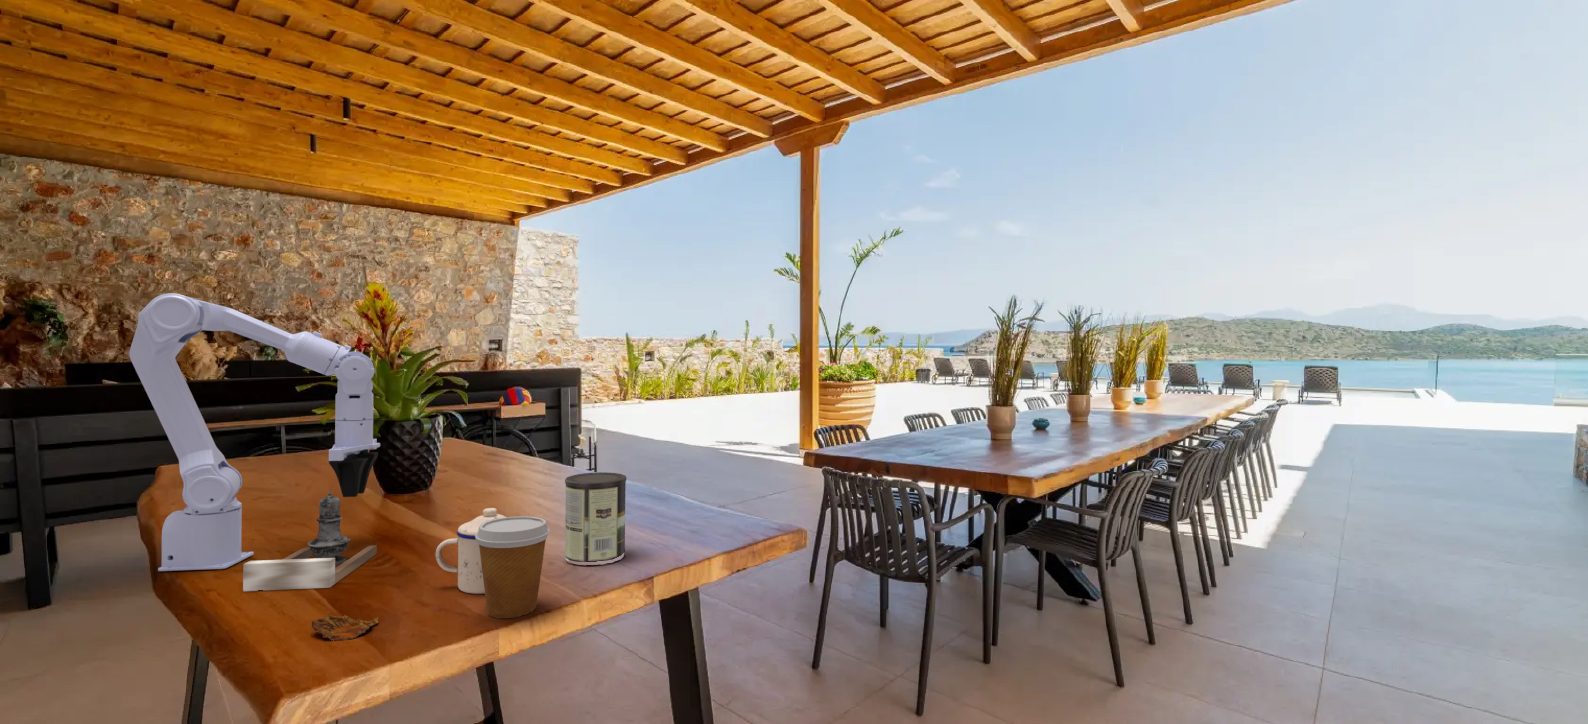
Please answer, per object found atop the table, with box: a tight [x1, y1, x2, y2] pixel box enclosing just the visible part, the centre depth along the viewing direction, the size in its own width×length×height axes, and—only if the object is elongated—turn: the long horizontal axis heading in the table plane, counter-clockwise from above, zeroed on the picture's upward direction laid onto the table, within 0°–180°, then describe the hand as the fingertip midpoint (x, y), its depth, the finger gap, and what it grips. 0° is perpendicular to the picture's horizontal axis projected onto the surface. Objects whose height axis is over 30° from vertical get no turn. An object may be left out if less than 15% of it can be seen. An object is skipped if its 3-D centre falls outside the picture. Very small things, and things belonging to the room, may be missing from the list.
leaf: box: [311, 614, 380, 641], centre depth 86 cm, size 6×7×2 cm
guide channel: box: [242, 544, 378, 592], centre depth 108 cm, size 11×17×4 cm
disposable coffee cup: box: [475, 515, 550, 619], centre depth 94 cm, size 10×10×12 cm
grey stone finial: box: [307, 490, 351, 567], centre depth 113 cm, size 6×6×12 cm
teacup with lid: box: [435, 507, 507, 595], centre depth 103 cm, size 12×9×12 cm
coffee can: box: [564, 471, 627, 563], centre depth 118 cm, size 10×10×14 cm
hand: (353, 495), depth 121 cm, fingers open, 2 cm apart
